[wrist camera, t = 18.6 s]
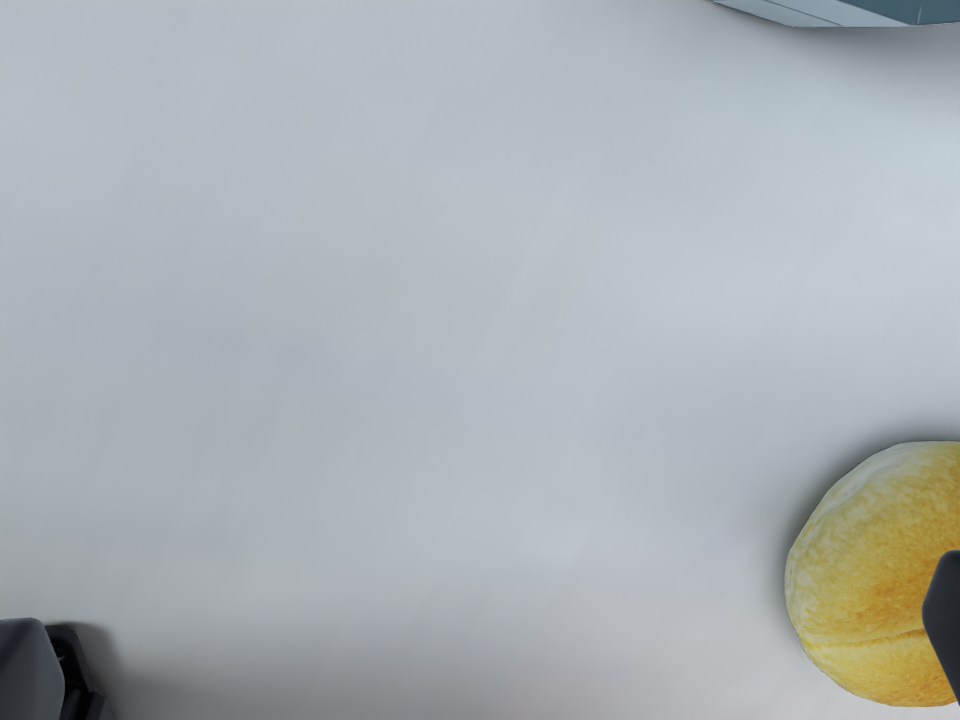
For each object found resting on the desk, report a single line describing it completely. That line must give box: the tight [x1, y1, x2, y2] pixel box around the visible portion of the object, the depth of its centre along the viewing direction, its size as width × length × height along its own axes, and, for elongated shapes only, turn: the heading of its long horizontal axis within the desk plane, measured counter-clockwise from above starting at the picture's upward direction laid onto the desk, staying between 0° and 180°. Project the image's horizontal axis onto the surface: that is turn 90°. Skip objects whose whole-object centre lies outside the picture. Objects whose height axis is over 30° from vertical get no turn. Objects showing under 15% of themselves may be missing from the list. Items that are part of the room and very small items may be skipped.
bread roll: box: [785, 441, 960, 707], centre depth 24 cm, size 8×9×4 cm
